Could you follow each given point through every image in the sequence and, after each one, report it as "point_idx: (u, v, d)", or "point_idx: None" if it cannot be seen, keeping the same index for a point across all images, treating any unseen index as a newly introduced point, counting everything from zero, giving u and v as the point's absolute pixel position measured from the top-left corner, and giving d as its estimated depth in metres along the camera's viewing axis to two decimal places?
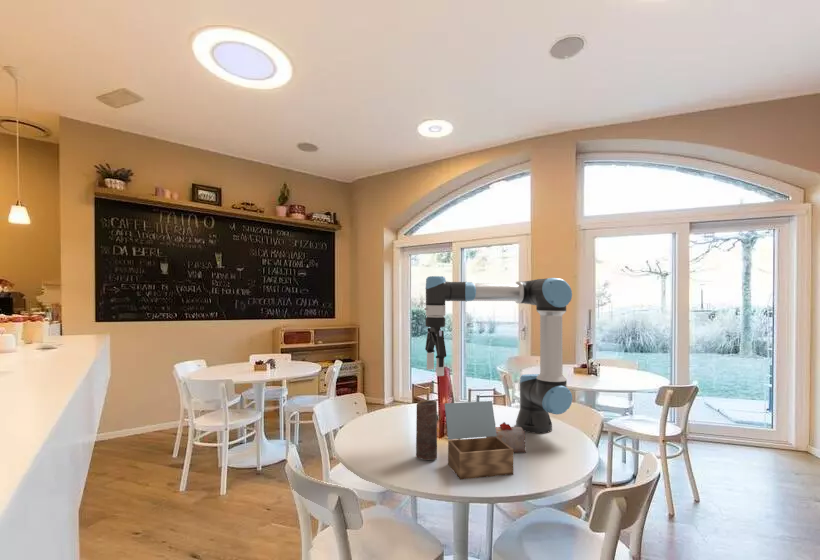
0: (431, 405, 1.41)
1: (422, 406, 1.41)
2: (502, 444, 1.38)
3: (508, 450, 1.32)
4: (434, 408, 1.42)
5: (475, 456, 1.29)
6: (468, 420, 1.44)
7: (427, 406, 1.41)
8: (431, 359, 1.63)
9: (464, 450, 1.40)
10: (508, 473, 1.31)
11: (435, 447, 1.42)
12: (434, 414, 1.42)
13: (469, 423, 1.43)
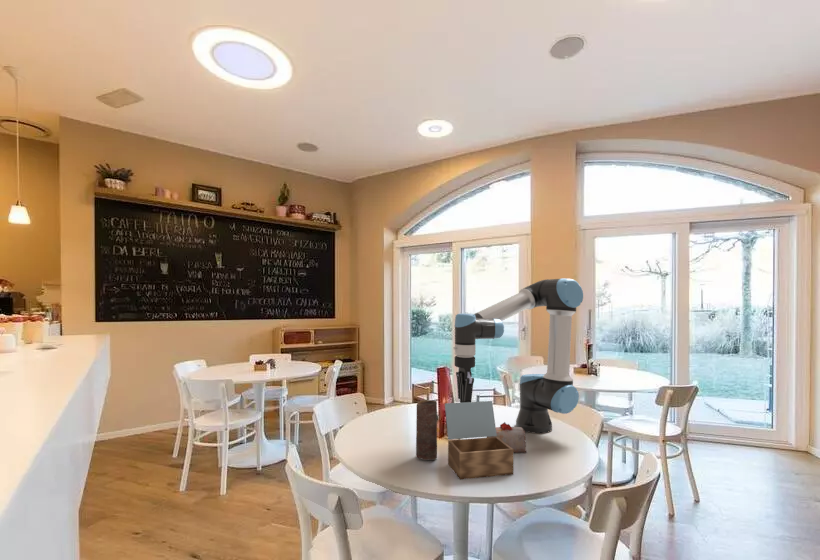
0: (431, 405, 1.41)
1: (422, 406, 1.41)
2: (502, 444, 1.38)
3: (508, 450, 1.32)
4: (434, 408, 1.42)
5: (475, 456, 1.29)
6: (468, 420, 1.44)
7: (427, 406, 1.41)
8: None
9: (464, 450, 1.40)
10: (508, 473, 1.31)
11: (435, 447, 1.42)
12: (434, 414, 1.42)
13: (469, 423, 1.43)
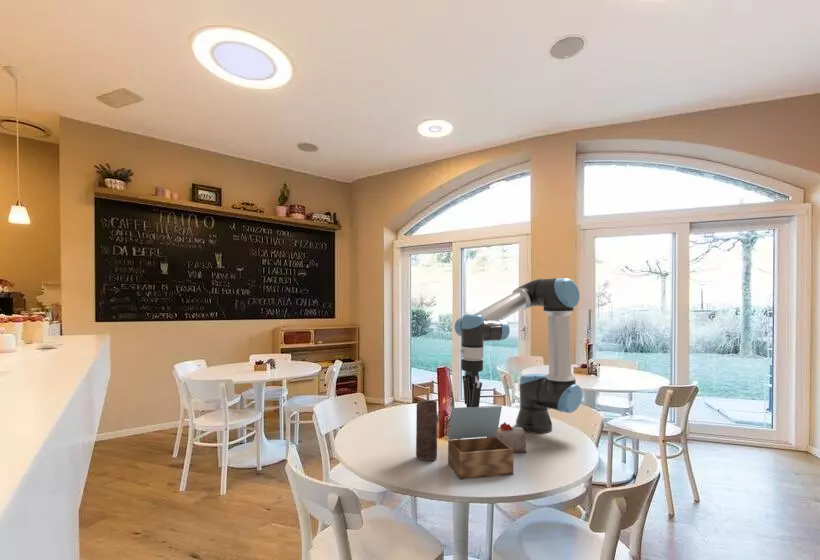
0: (431, 405, 1.41)
1: (422, 406, 1.41)
2: (502, 444, 1.38)
3: (508, 450, 1.32)
4: (434, 408, 1.42)
5: (475, 456, 1.29)
6: (472, 423, 1.40)
7: (427, 406, 1.41)
8: None
9: (464, 450, 1.40)
10: (508, 473, 1.31)
11: (435, 447, 1.42)
12: (434, 414, 1.42)
13: (472, 426, 1.40)
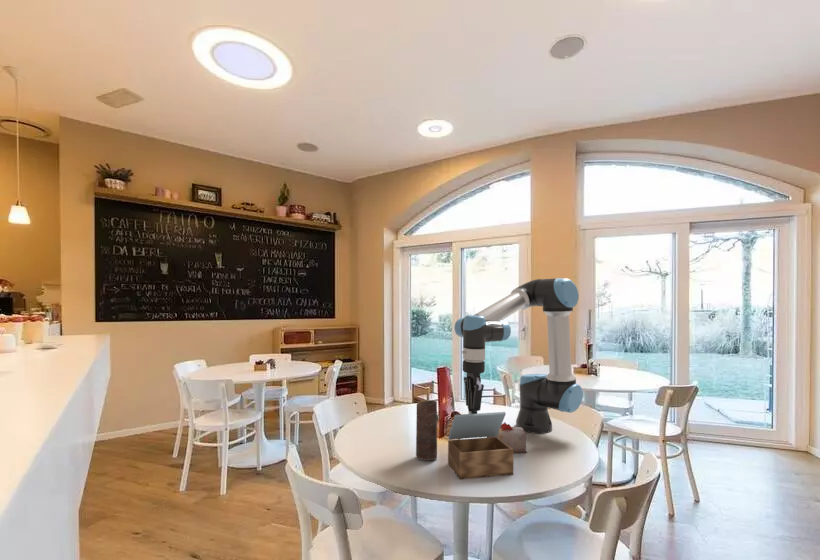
0: (431, 405, 1.41)
1: (422, 406, 1.41)
2: (502, 444, 1.38)
3: (508, 450, 1.32)
4: (434, 408, 1.42)
5: (475, 456, 1.29)
6: (474, 427, 1.38)
7: (427, 406, 1.41)
8: None
9: (464, 450, 1.40)
10: (508, 473, 1.31)
11: (435, 447, 1.42)
12: (434, 414, 1.42)
13: (474, 429, 1.39)
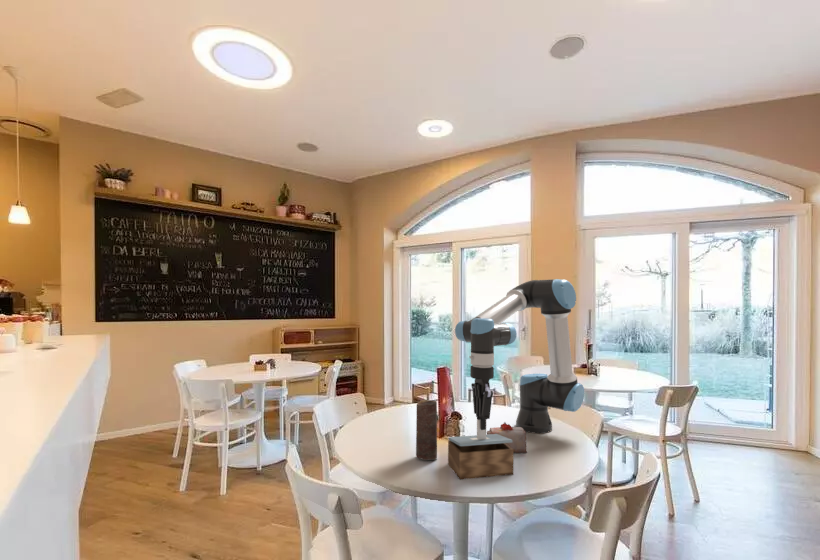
0: (431, 405, 1.41)
1: (422, 406, 1.41)
2: (502, 444, 1.38)
3: (508, 450, 1.32)
4: (434, 408, 1.42)
5: (475, 456, 1.29)
6: None
7: (427, 406, 1.41)
8: None
9: (464, 450, 1.40)
10: (508, 473, 1.31)
11: (435, 447, 1.42)
12: (434, 414, 1.42)
13: None
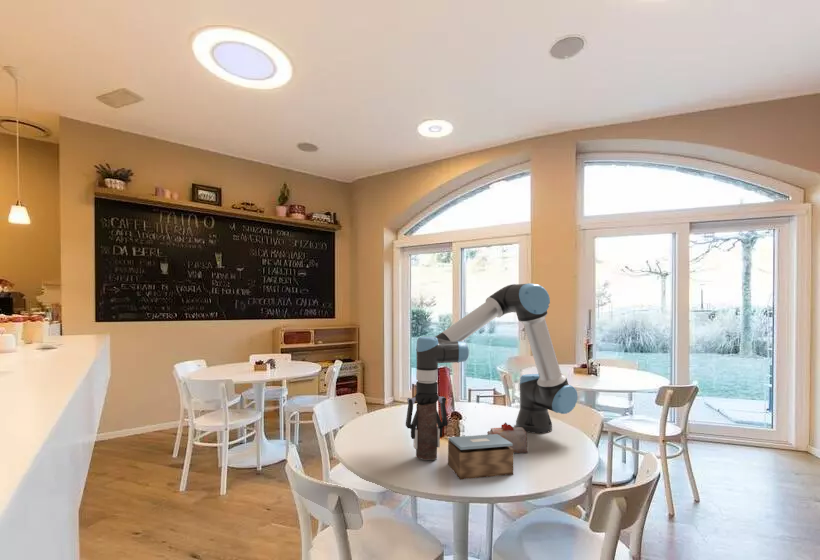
0: (431, 405, 1.41)
1: (422, 406, 1.41)
2: None
3: (508, 450, 1.32)
4: (434, 408, 1.42)
5: (475, 456, 1.29)
6: None
7: (427, 406, 1.41)
8: None
9: (464, 450, 1.40)
10: (508, 473, 1.31)
11: (435, 447, 1.42)
12: (434, 414, 1.42)
13: None
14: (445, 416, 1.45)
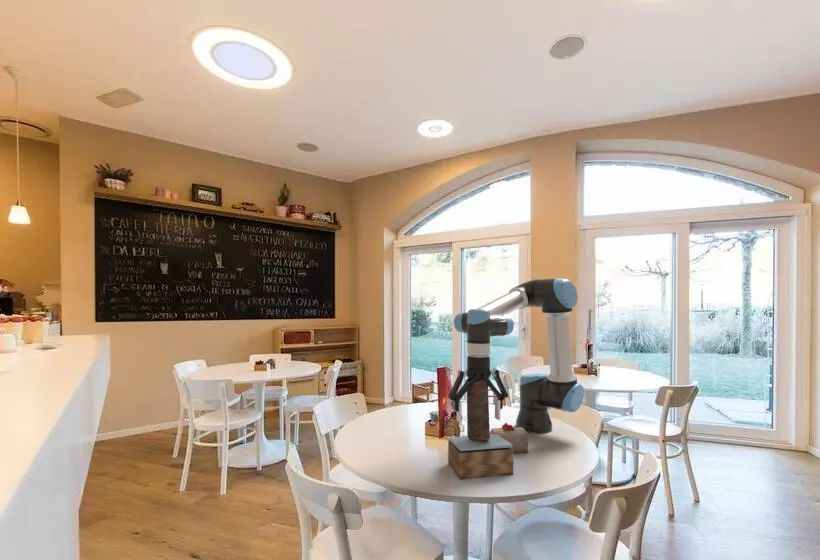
0: (483, 381, 1.35)
1: None
2: None
3: (508, 450, 1.32)
4: (486, 384, 1.36)
5: (475, 456, 1.29)
6: None
7: (479, 382, 1.35)
8: (496, 407, 1.37)
9: None
10: (508, 473, 1.31)
11: (488, 427, 1.35)
12: (486, 391, 1.35)
13: None
14: (503, 388, 1.37)
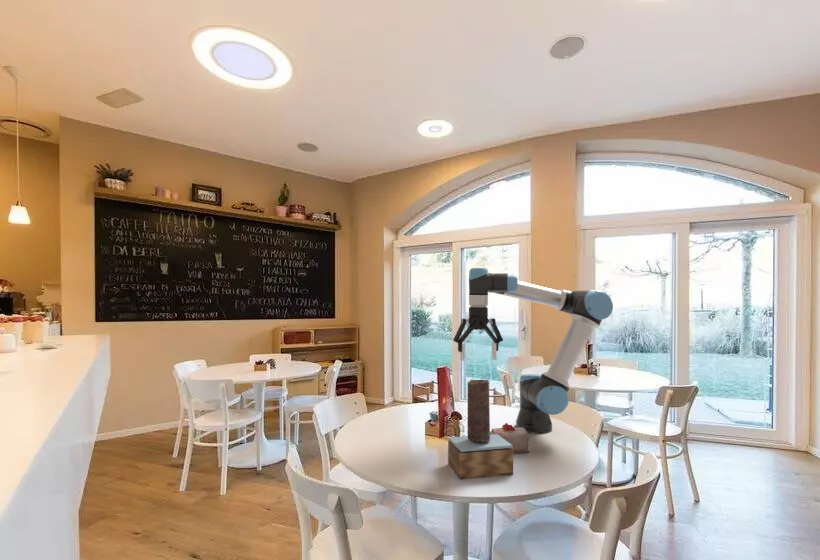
0: (484, 383, 1.34)
1: (475, 384, 1.34)
2: None
3: (508, 450, 1.32)
4: (487, 387, 1.34)
5: (475, 456, 1.29)
6: None
7: (480, 384, 1.33)
8: (493, 349, 1.66)
9: None
10: (508, 473, 1.31)
11: (488, 428, 1.34)
12: (487, 393, 1.34)
13: None
14: (499, 333, 1.66)
